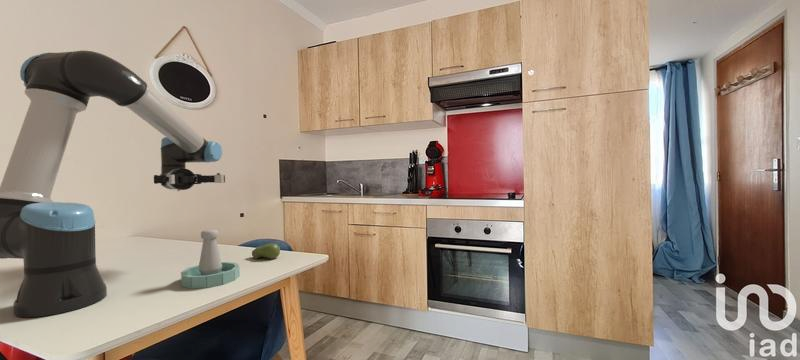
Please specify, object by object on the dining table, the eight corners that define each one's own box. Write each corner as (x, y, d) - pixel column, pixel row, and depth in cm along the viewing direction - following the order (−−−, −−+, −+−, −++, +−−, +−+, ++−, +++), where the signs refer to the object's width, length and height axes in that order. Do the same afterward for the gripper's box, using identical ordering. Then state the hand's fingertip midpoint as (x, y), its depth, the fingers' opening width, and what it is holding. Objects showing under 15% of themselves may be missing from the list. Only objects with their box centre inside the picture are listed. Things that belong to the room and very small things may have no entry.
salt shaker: (202, 280, 89) (201, 232, 88) (195, 276, 93) (194, 230, 92) (225, 275, 93) (224, 229, 93) (218, 271, 97) (217, 227, 97)
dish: (170, 289, 85) (170, 278, 85) (196, 273, 99) (196, 263, 99) (227, 286, 87) (227, 275, 87) (245, 270, 101) (245, 261, 101)
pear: (272, 244, 112) (247, 248, 114) (275, 259, 112) (249, 263, 114) (281, 240, 117) (257, 244, 119) (284, 255, 117) (259, 259, 119)
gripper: (218, 188, 126) (240, 189, 112) (136, 191, 108) (149, 192, 94) (218, 169, 126) (240, 167, 112) (136, 168, 108) (149, 166, 94)
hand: (199, 179), depth 103 cm, fingers open, 13 cm apart
